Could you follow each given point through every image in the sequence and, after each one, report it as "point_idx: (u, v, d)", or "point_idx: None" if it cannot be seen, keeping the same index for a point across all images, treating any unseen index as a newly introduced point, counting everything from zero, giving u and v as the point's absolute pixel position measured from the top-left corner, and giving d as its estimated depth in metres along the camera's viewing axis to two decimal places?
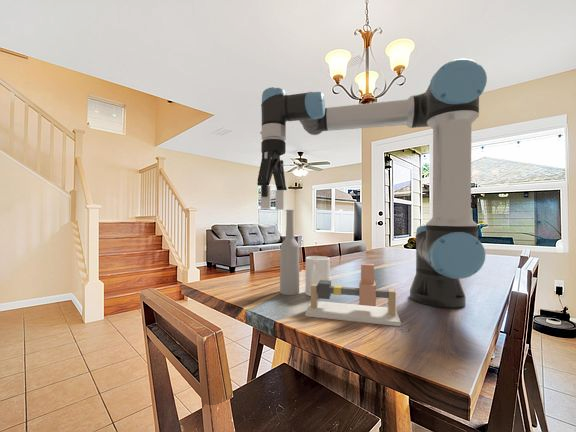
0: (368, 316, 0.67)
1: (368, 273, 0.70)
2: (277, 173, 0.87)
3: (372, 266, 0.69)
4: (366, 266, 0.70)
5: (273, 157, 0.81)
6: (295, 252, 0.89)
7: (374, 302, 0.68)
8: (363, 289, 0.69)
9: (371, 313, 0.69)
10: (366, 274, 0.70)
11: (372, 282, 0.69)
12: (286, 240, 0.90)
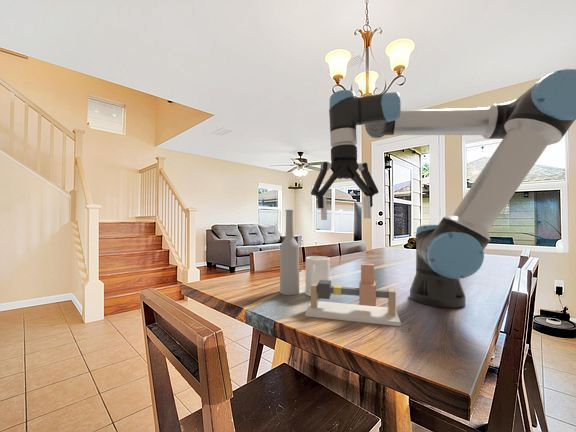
0: (368, 316, 0.67)
1: (368, 273, 0.70)
2: (355, 179, 0.79)
3: (372, 266, 0.69)
4: (366, 266, 0.70)
5: (335, 165, 0.77)
6: (295, 252, 0.89)
7: (374, 302, 0.68)
8: (363, 289, 0.69)
9: (371, 313, 0.69)
10: (366, 274, 0.70)
11: (372, 282, 0.69)
12: (286, 240, 0.90)
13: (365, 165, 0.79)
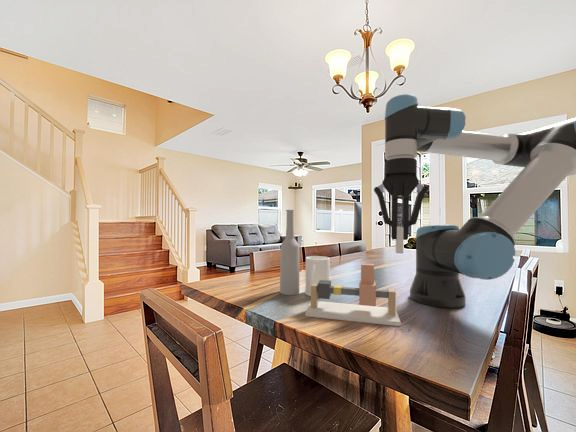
0: (368, 316, 0.67)
1: (368, 273, 0.70)
2: (403, 199, 0.68)
3: (372, 266, 0.69)
4: (366, 266, 0.70)
5: (387, 182, 0.68)
6: (295, 252, 0.89)
7: (374, 302, 0.68)
8: (363, 289, 0.69)
9: (371, 313, 0.69)
10: (366, 274, 0.70)
11: (372, 282, 0.69)
12: (286, 240, 0.90)
13: (424, 189, 0.66)
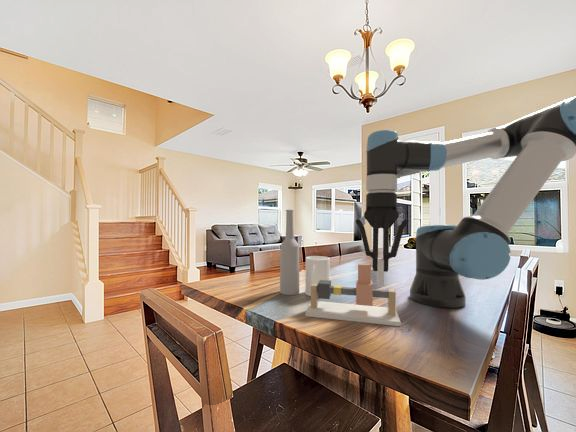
0: (368, 316, 0.67)
1: (365, 273, 0.70)
2: (383, 231, 0.69)
3: (369, 266, 0.70)
4: (363, 266, 0.70)
5: (368, 215, 0.70)
6: (295, 252, 0.89)
7: (371, 302, 0.68)
8: (360, 289, 0.69)
9: (371, 313, 0.69)
10: (363, 274, 0.70)
11: (369, 282, 0.70)
12: (286, 240, 0.90)
13: (404, 222, 0.67)
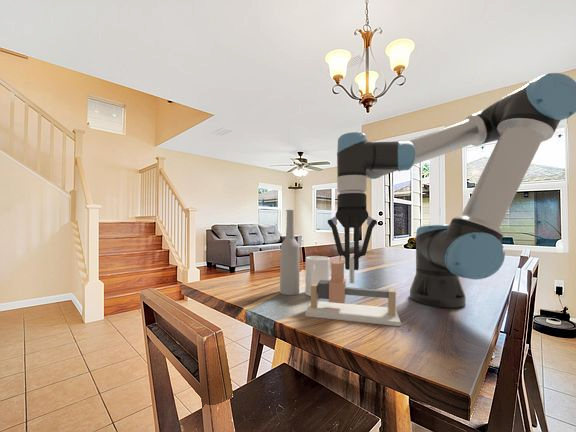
0: (368, 316, 0.67)
1: (338, 271, 0.72)
2: (354, 231, 0.71)
3: (342, 264, 0.71)
4: (336, 264, 0.72)
5: (339, 215, 0.71)
6: (295, 252, 0.89)
7: (343, 299, 0.70)
8: (332, 287, 0.71)
9: (371, 313, 0.69)
10: (336, 272, 0.72)
11: (342, 280, 0.72)
12: (286, 240, 0.90)
13: (373, 222, 0.69)
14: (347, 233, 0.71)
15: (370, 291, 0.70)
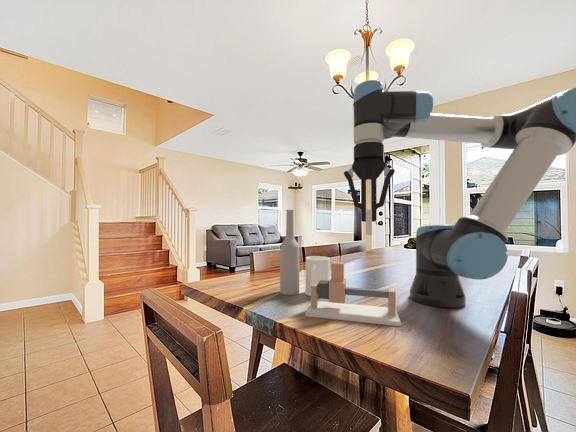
0: (368, 316, 0.67)
1: (338, 271, 0.72)
2: (371, 182, 0.70)
3: (342, 264, 0.71)
4: (336, 264, 0.72)
5: (356, 166, 0.70)
6: (295, 252, 0.89)
7: (343, 299, 0.70)
8: (332, 287, 0.71)
9: (371, 313, 0.69)
10: (336, 272, 0.72)
11: (342, 280, 0.72)
12: (286, 240, 0.90)
13: (391, 172, 0.68)
14: (364, 184, 0.70)
15: (370, 291, 0.70)
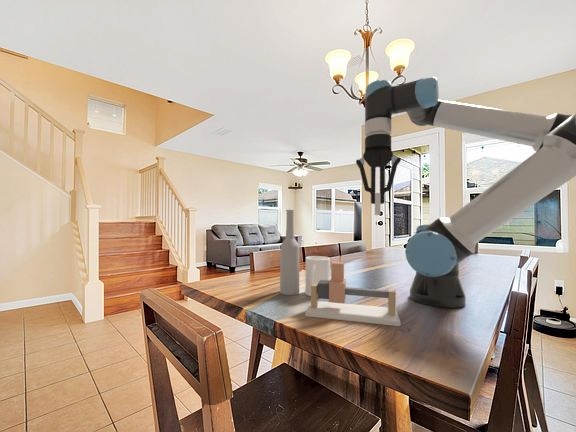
0: (368, 316, 0.67)
1: (338, 271, 0.72)
2: (380, 169, 0.80)
3: (342, 264, 0.71)
4: (336, 264, 0.72)
5: (367, 155, 0.81)
6: (295, 252, 0.89)
7: (343, 299, 0.70)
8: (332, 287, 0.71)
9: (371, 313, 0.69)
10: (336, 272, 0.72)
11: (342, 280, 0.72)
12: (286, 240, 0.90)
13: (397, 160, 0.78)
14: (373, 171, 0.80)
15: (370, 291, 0.70)
